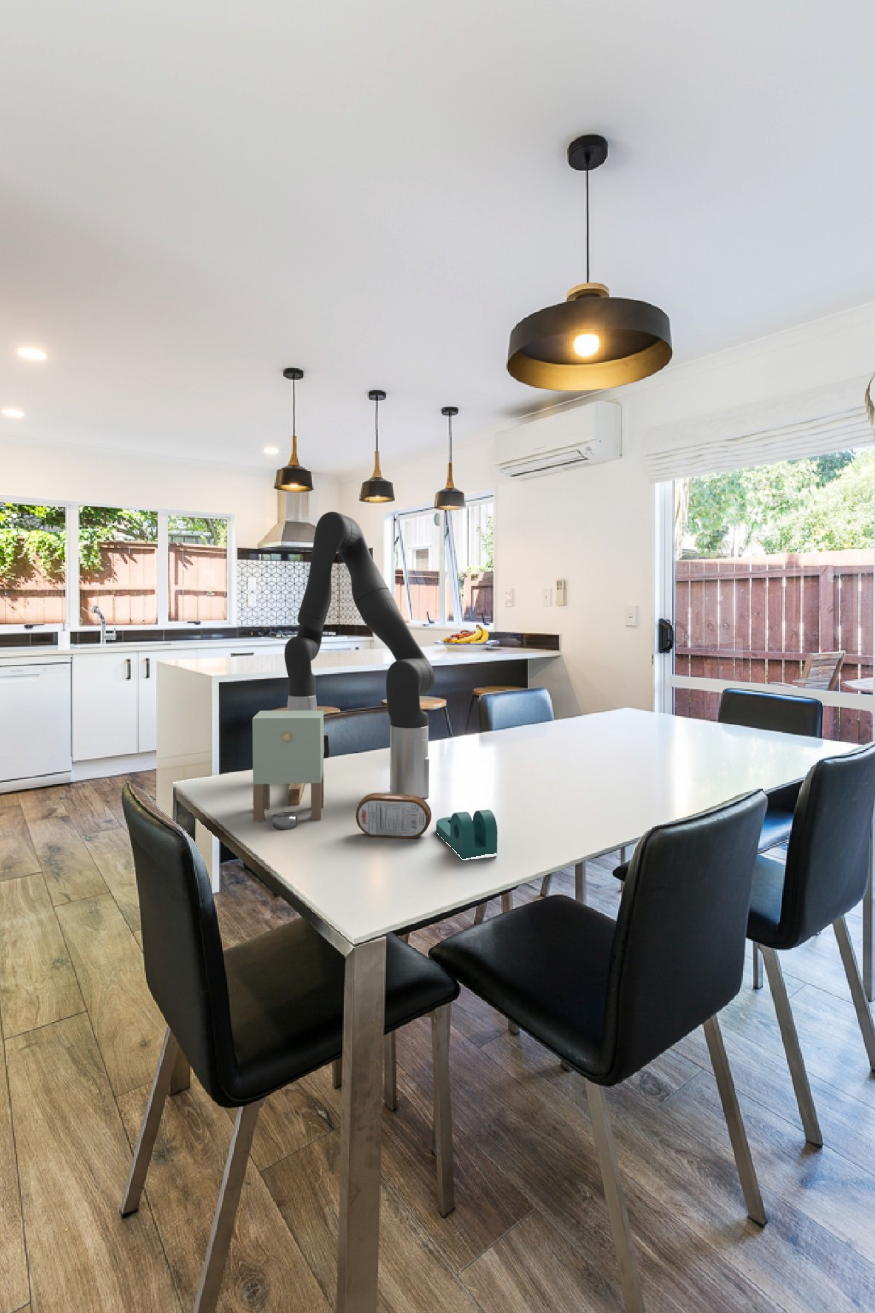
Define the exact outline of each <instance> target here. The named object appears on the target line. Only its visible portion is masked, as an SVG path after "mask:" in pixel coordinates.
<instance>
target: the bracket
mask: <svg viewBox="0 0 875 1313" xmlns="http://www.w3.org/2000/svg"><path fill="white" fill-rule="evenodd" d="M436 832H437V833H438V834H439V836H440V837H442V838H443V839H444V841H445V842H447V843H448V844H449V845H450V846H451V848H453V849H454V850H455V851H456V852H457V854H459V855H460V857H461V858H462V859H466V858H471V857H476V856H481V855H485V854H494V853H497V854H498V824H497V820H496V817H495V813H493V812H492V810H490V809H484V810H483V809H482V810H476V811H475V812H474V813H473V816H471V814H470V813H469V812H468V811H462V812H461V811H458V812H453V813H452V815H451V816H445V817H442V818H439V819H436V821H435V833H436ZM437 833H436V834H437ZM439 836H438V837H439ZM440 837H439V838H440ZM444 841H443V842H444ZM445 842H444V843H445ZM451 848H450V849H451Z"/></svg>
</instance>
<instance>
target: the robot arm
mask: <svg viewBox="0 0 875 1313" xmlns="http://www.w3.org/2000/svg"><path fill="white" fill-rule="evenodd" d="M337 554H338V555H339V556H340V557H341V559H342V561H343V563H344V564H345V567H346V568H347V571H348V573H349V576H350V581H351V582H350V584H351V587H350V588H351V595H352V599H353V602H354V604H355V607H356V608H357V611H358V614H359V615H360V617H361V619H362V620H363V622H364V623H365V625H366V626H367V627H368V629H369V630H370V631H371V632H372V633H373V634H374V635H375V636H376V637H377V638H378V639H379V640H380V641H381V642H382V643H383V644H384V645H385V646H386V647H387V649H389V651H390V652H391V654H392V655H393V657H394V660H395V661H394V662H392V664H391V665H390V666H389V667H388V668H387V672H386V676H385V677H386V678H385V680H386V681H385V691H386V692H385V693H386V711H387V714H388V717H389V720H390V724H389V725H390V726H389V727H390V730H389V731H390V732H389V735H390V737H389V739H390V740H389V741H390V742H389V744H390V745H389V794H404V795H415V796H418V797H420V798H422V799H426V798H429V796H430V794H429V793H430V792H429V791H430V758H429V721H430V720H429V715H428V713H427V712H426V711H423V710H422V708H421V701H420V698H421V697H420V696H422V695H426V694H429V693H430V692H431V691H432V690H433V689H434V686H435V681H436V679H435V678H436V674H435V671H434V668H433V666H432V664H431V662H430V661H429V660H428V658H427V657H426V655H425V653H424V652H423V651H422V649H421V647H420V646H419V644H418V643H417V641H416V639H415V638H414V636H413V634H412V632H411V630H410V628H409V626H408V625H407V622H406V619H405V618H404V616H403V615H402V613H401V611H400V609H399V607H398V605H397V602H396V600H395V599H394V596H393V594H392V593H391V590H390V589H389V587H388V585H387V583H386V581H385V579H384V578H383V575H382V574H381V572H380V570H379V569H378V566H377V564H376V563H375V561H374V559H373V556H372V555H371V551H370V550H369V547H368V544H367V540H366V539H365V536H364V533H363V530H362V529H361V527H360V525H359V524H358V523H357V521H355V520H354V519H352V518H351V517H349V516H347V515H345V514H343V513H339V512H337V511H328V512H326V513H324V514H322V516H321V517H320V518H319V519H318V521H317V524H316V527H315V531H314V537H313V544H312V553H311V557H310V558H311V559H310V565H309V572H308V579H307V582H306V588H305V591H304V594H303V597H302V601H301V603H300V607H299V612H298V615H297V623H298V624H299V625H298V630H297V635H296V636H294V637H293V636H292V637H291V638H289V640H288V641H287V642H286V644H285V647H284V663H285V668H286V673H287V676H288V677H287V678H288V684H287V685H288V687H287V688H288V698H287V708H286V711H317V710H318V706H317V704H318V702H317V701H318V700H317V686H316V685H317V680H316V675H315V674H314V673H313V671H312V661H313V660H315V659H316V657H317V656H318V654H319V652H320V648H321V645H322V641H323V640H322V638H323V633H324V632H323V630H324V625H325V622H326V619H327V616H328V613H329V610H330V607H331V603H332V595H333V594H332V592H333V589H332V571H333V564H334V560H335V558H336V555H337ZM329 757H330V735H329V733H325V734H324V759H326V758H327V759H328V758H329Z"/></svg>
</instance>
